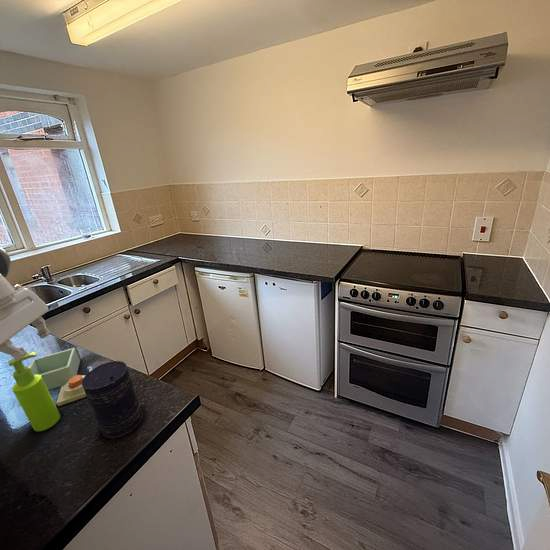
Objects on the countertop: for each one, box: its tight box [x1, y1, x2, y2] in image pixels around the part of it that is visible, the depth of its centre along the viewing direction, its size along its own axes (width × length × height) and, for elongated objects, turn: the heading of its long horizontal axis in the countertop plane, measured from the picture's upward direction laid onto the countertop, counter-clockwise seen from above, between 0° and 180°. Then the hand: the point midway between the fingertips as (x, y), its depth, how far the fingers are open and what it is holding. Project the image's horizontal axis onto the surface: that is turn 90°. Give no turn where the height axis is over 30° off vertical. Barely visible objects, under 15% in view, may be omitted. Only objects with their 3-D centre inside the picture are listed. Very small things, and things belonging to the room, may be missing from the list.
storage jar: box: [82, 360, 144, 439], centre depth 73 cm, size 10×10×15 cm
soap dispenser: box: [7, 351, 61, 432], centre depth 75 cm, size 6×7×20 cm
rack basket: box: [29, 347, 81, 391], centre depth 95 cm, size 12×12×6 cm
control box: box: [55, 374, 87, 407], centre depth 88 cm, size 10×8×3 cm
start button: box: [68, 374, 83, 388], centre depth 87 cm, size 4×4×2 cm
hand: (35, 345), depth 69 cm, fingers open, 8 cm apart
